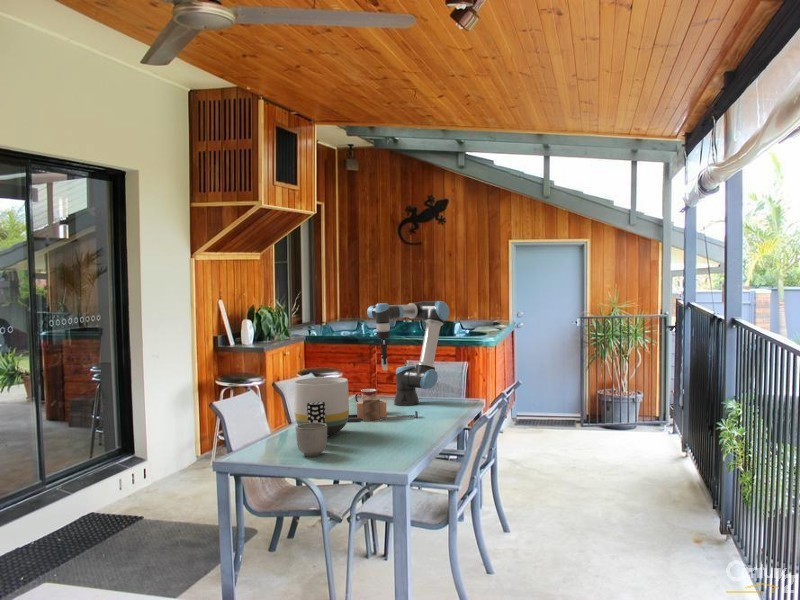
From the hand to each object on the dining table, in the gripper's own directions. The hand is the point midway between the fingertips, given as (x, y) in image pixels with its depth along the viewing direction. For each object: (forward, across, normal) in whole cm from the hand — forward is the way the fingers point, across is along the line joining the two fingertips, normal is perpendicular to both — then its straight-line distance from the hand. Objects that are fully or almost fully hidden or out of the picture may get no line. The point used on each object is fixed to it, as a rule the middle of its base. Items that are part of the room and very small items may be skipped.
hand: (384, 368), depth 395 cm
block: (+25, +9, -8) cm, 28 cm away
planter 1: (+26, +44, -34) cm, 61 cm away
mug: (+27, -8, -11) cm, 30 cm away
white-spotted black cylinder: (+26, +67, -35) cm, 80 cm away
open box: (+26, +9, -8) cm, 29 cm away
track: (+26, +10, +1) cm, 28 cm away
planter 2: (+25, +84, -36) cm, 95 cm away
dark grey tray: (+26, +9, -19) cm, 33 cm away
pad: (+26, +10, +6) cm, 29 cm away
